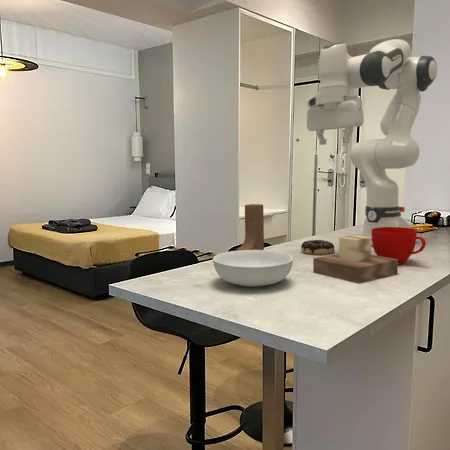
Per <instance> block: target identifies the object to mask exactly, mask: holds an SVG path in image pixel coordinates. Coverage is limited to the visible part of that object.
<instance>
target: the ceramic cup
mask: <svg viewBox="0 0 450 450" xmlns="http://www.w3.org/2000/svg"><path fill="white" fill-rule="evenodd" d="M411 228H412V227H411ZM411 228H403V227H379V228H373V229H372V230H371V234H372V245H373V246H372V248H373V251H374V253H375V256H381V257H387V258H392V259H398V265H402V264H405V263H406V262H407V261H408V260H409V259H410V257H411V256H412V255H415V254H418V253H420V252H422V251H423V250H424V249H425V247H426V245H427V244H426V238H424V237H422V236H417V235H418V234H417V233H418V231H417V229H415V228H412V229H411ZM416 239H419V241H421V247H420V248H419V249H417V250H415V249H416V248H415V247H416V244H417V242H416Z"/></svg>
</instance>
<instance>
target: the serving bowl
mask: <svg viewBox="0 0 450 450" xmlns="http://www.w3.org/2000/svg"><path fill="white" fill-rule="evenodd" d="M212 262H213V263H212V264H213V267H214V270H215V273H217V275H218V276H219V277H220V278H221V279H223V280H224V281H225V282H227V283H230V284H233V285H237V286H241V287H246V288H247V287H248V288H259V287H266V286H269V285H273V284H276V283H279V282H281V281H282V280H284V279H286V277H287V276H288V275H289V274H290V272H291V270H292V269H293V264H294V263H293V262H294V257H293V256H292V255H290V254H289V253H285V252H282V251H275V250H268V249H264V250H240V251H237V250H231V251H227V252H223V253H222V252H221V253H218V254H216V255H214V256H213V257H212Z"/></svg>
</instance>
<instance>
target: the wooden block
mask: <svg viewBox="0 0 450 450" xmlns="http://www.w3.org/2000/svg"><path fill="white" fill-rule="evenodd" d="M264 218H265V217H264V204H260V203H257V204H256V203H251V204H245V205H244V232H245V234H244V241H243V243H242V244H241V246H239V247H237V248H236V251H240V250H265V238H264V237H265V234H264V233H265V232H264V230H265V229H264Z"/></svg>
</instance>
